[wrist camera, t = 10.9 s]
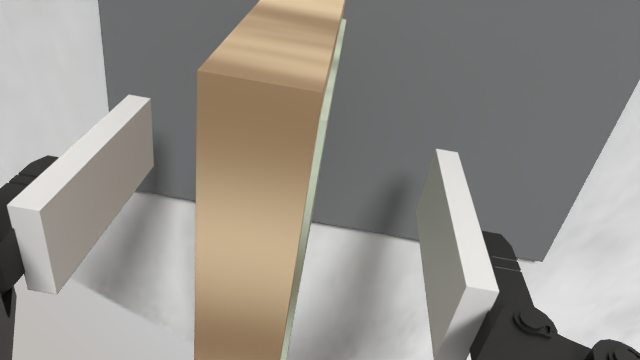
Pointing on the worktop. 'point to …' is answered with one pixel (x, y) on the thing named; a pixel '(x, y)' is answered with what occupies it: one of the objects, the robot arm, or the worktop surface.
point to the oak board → (260, 173)
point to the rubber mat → (412, 102)
